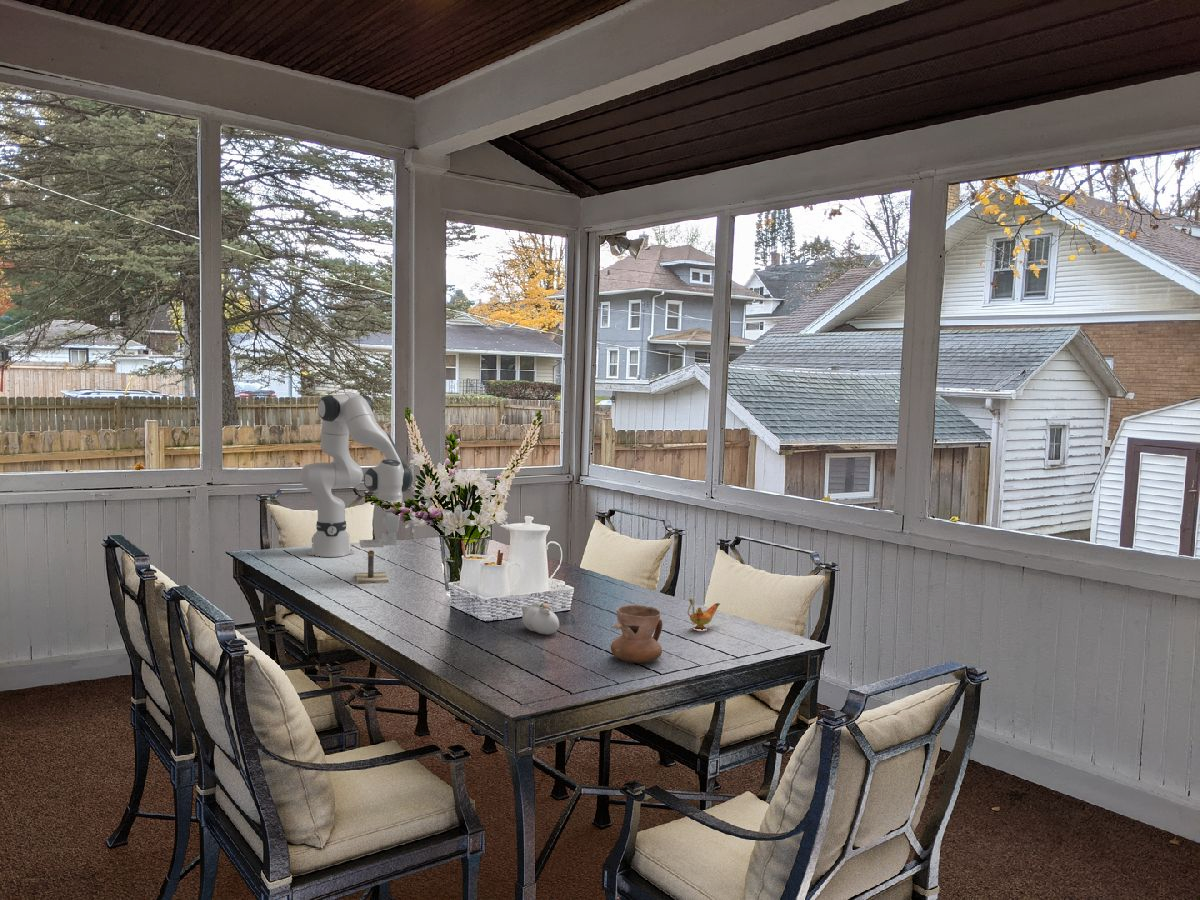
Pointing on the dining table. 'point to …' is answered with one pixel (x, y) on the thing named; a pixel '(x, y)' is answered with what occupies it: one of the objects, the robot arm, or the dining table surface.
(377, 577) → the peg stand
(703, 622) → the magic lamp
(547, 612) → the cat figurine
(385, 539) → the link
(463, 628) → the dining table surface
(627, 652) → the ceramic jug
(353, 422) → the robot arm
